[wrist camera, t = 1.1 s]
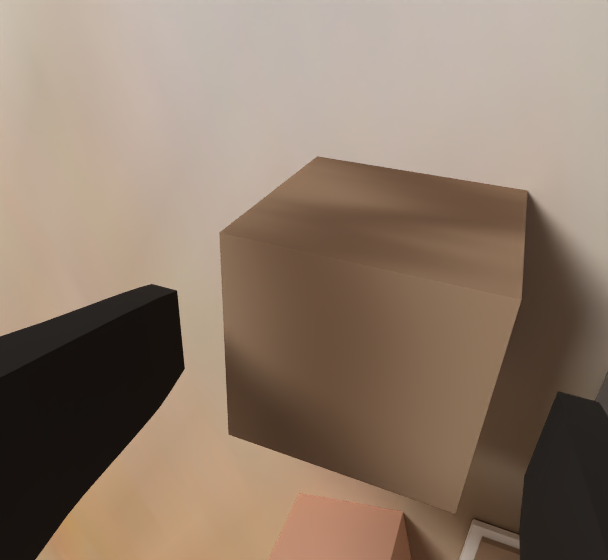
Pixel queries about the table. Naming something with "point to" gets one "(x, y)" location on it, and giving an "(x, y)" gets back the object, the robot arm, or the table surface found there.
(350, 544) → the terracotta cube
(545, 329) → the table surface
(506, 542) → the swatch
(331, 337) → the walnut cube
